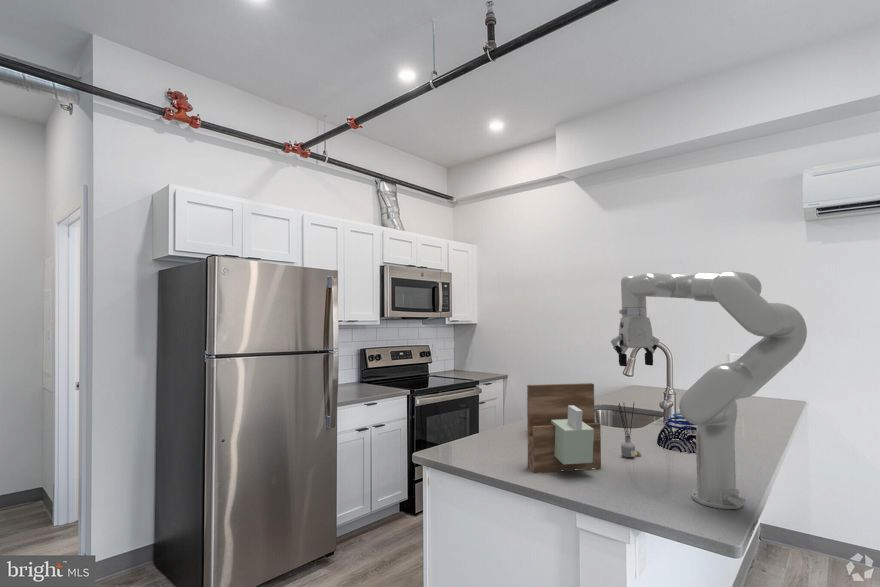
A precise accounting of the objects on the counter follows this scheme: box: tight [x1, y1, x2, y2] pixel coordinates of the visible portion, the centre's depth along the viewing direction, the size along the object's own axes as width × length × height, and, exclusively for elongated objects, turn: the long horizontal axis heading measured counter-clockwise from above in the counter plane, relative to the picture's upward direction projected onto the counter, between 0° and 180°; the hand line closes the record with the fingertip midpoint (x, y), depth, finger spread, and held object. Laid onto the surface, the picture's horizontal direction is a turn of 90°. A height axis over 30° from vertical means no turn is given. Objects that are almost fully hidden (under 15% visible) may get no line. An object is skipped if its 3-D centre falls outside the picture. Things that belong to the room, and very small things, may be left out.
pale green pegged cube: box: [551, 405, 594, 464], centre depth 157 cm, size 11×10×17 cm
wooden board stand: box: [526, 382, 602, 474], centre depth 163 cm, size 6×24×28 cm, turn 101°
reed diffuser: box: [617, 402, 642, 458], centre depth 176 cm, size 10×7×20 cm
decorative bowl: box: [656, 408, 697, 454], centre depth 189 cm, size 20×20×14 cm
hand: (636, 365), depth 155 cm, fingers open, 9 cm apart
